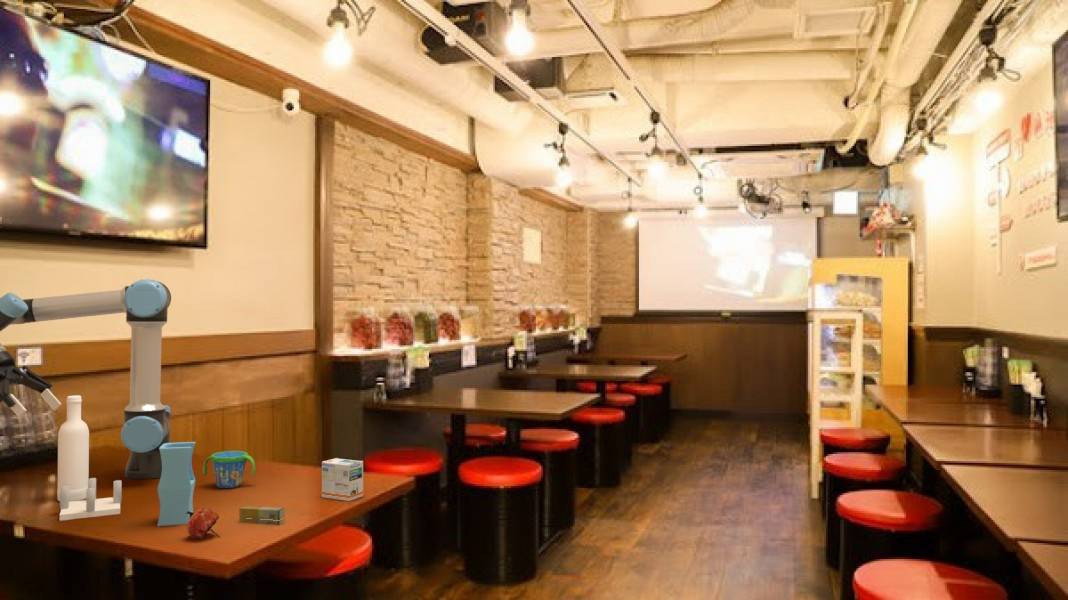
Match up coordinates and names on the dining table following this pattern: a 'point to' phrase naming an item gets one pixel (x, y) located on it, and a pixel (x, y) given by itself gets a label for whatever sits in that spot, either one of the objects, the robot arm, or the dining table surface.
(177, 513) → the vase
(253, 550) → the dining table surface
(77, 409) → the bottle
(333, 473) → the light bulb box
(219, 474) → the snack cup
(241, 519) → the medication box
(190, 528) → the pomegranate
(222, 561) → the dining table surface
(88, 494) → the pin caddy
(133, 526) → the dining table surface
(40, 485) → the dining table surface
